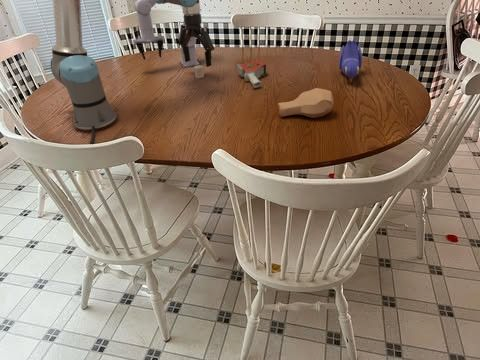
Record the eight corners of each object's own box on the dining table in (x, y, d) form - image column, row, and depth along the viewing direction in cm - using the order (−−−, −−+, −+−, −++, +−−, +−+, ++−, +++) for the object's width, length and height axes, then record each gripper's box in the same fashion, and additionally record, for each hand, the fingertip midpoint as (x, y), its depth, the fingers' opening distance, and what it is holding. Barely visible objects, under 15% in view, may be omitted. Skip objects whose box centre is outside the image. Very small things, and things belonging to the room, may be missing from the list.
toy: (337, 76, 168) (339, 86, 146) (339, 39, 162) (341, 42, 139) (359, 76, 166) (364, 85, 144) (361, 37, 159) (367, 41, 137)
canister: (203, 74, 169) (202, 64, 167) (204, 77, 166) (203, 67, 163) (195, 75, 169) (194, 65, 166) (195, 78, 166) (194, 68, 163)
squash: (337, 118, 126) (338, 97, 119) (281, 128, 127) (279, 108, 121) (330, 101, 133) (330, 80, 127) (277, 111, 135) (275, 90, 128)
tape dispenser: (257, 93, 151) (279, 75, 164) (257, 81, 148) (279, 63, 160) (223, 84, 159) (246, 67, 171) (222, 73, 155) (246, 57, 168)
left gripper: (219, 14, 147) (223, 65, 160) (178, 9, 160) (185, 57, 173) (207, 18, 143) (212, 70, 155) (165, 13, 156) (173, 61, 168)
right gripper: (131, 32, 160) (138, 62, 168) (163, 28, 163) (168, 58, 171) (130, 29, 165) (136, 58, 173) (161, 25, 169) (166, 54, 177)
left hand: (198, 63), depth 164 cm, fingers open, 13 cm apart
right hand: (152, 58), depth 173 cm, fingers open, 7 cm apart
